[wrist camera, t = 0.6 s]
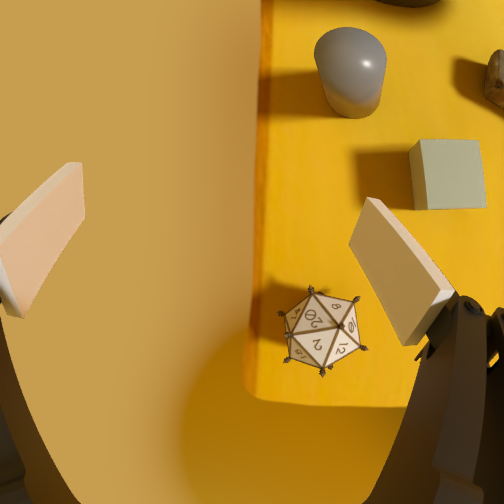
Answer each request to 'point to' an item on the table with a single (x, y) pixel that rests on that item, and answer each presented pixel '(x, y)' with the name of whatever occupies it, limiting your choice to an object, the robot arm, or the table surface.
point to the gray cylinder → (351, 70)
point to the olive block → (447, 174)
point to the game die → (321, 330)
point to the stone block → (495, 79)
